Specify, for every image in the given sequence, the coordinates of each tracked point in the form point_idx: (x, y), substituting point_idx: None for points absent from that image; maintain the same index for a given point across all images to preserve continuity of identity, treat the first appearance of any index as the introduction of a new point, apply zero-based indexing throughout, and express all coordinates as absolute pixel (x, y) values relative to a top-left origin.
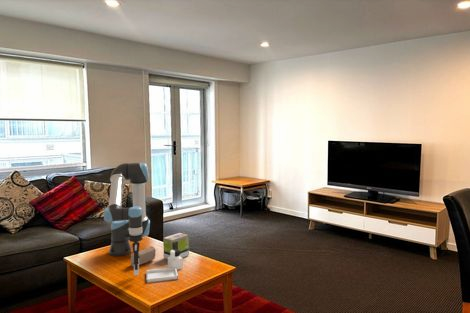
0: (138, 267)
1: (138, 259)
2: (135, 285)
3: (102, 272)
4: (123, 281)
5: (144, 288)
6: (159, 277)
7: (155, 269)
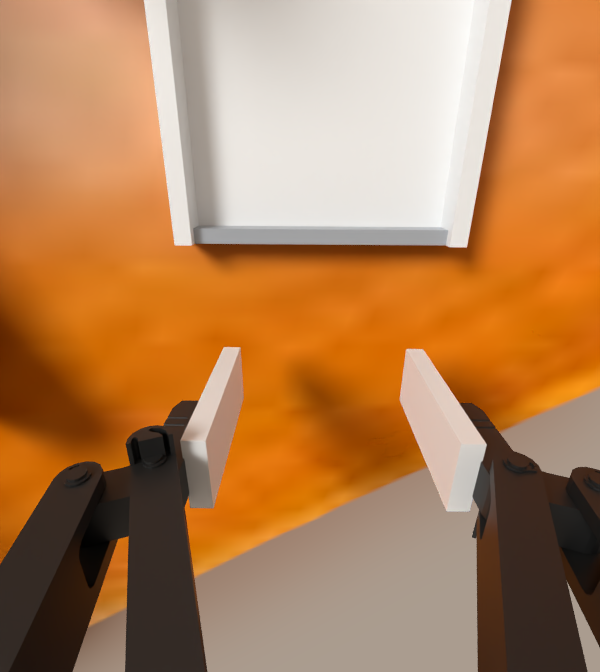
0: (456, 405)
1: (209, 436)
2: (465, 347)
3: (114, 573)
4: (334, 441)
5: (580, 264)
6: (483, 56)
7: (166, 109)
